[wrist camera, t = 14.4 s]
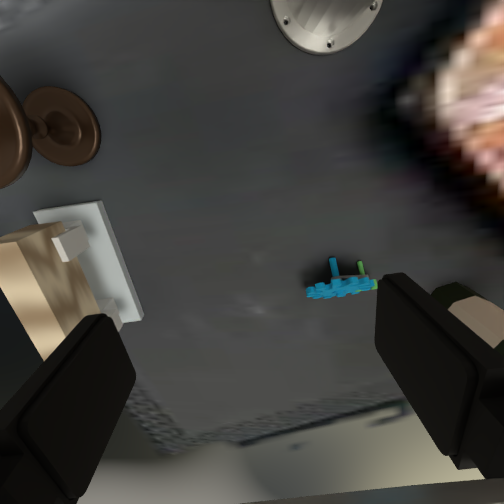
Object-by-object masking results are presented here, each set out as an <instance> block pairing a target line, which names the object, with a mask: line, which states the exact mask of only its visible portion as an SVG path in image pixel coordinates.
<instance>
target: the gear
mask: <svg viewBox="0 0 504 504" xmlns="http://www.w3.org/2000/svg"><path fill="white" fill-rule="evenodd" d="M329 262H330V267H331V272H332V276H333V277H332V278H331V283H330V284H327V285H325V284H324V283H323V282H322V283H317V284H315V287H316V288H315V287H308V288H306V294H307V297H312V298H314V299H317V298H320V297H323V298H331V297H333V296H336V295H337V297H343V296H345V294H347V293H351V294H357V293H360V292H359V291H366V290H370V289H377V288H378V286H377V282H376V280H375V279H374V280H370V279H369V275H365V272H364V268H363V265H362V261H359V262H357V265H358V269H359V273H360V275H347V276H339V272H338V267H337V263H336V258H330V259H329Z"/></svg>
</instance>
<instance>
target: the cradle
mask: <svg viewBox="0 0 504 504" xmlns="http://www.w3.org/2000/svg"><path fill="white" fill-rule="evenodd" d="M33 213H34V215H35V217H36V220H37V222H38V224H44V223H51V222H59V221H62V224H63V226H64V228H65V232H63V233H61V234H59V235H57V236H55V237H53V238H51V239H52V241H53V243H54V245H55V247H56V249H57V251H58V253H59V255H60V258H61V260H62V262H68V261H70V260H72V259H73V258H75V257H76V256H77V258H78V261H79V263H80V265H81V268H82V270H83V272H84V275H85V277H86V279H87V282H88V284H89V286H90V289H91V291H92V293H93V296H94V298H95V300H96V302H97V305H98V307H99V309H100V312H101V313H104V314H106V315H107V316H108V317H111V318H112V319H113V321H114V323H115V326H116V328H117V330H118V332H119V331H120V329H121V327H122V326H123V324H122V323H125V322H132V321H139V320H142V318H143V316H144V312H143V310H142V307H141V304H140V302H139V299H138V296H137V294H136V291H135V288H134V286H133V283H132V280H131V278H130V275H129V272H128V270H127V267H126V264H125V261H124V259H123V256H122V253H121V251H120V248H119V245H118V243H117V240H116V237H115V235H114V232H113V229H112V227H111V224H110V221H109V219H108V216H107V213H106V211H105V208H104V205H103V202H102V200H101V201H94V202H87V203H81V204H74V205H67V206H61V207H54V208H47V209H41V210H38V211H35V212H33Z"/></svg>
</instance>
